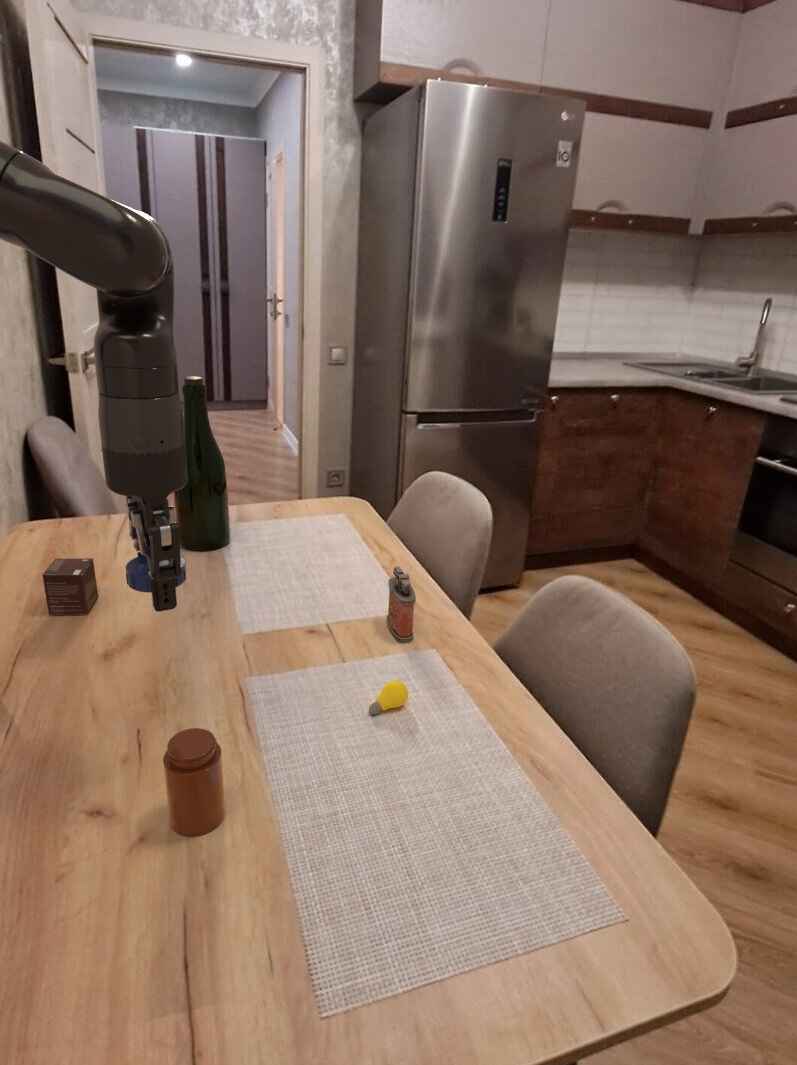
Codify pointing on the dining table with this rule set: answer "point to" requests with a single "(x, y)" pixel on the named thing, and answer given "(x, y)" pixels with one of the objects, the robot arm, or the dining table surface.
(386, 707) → the light bulb
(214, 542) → the dark green wine bottle
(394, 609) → the lighter
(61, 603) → the box
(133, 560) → the jam lid
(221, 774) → the jam jar
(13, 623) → the dining table surface
